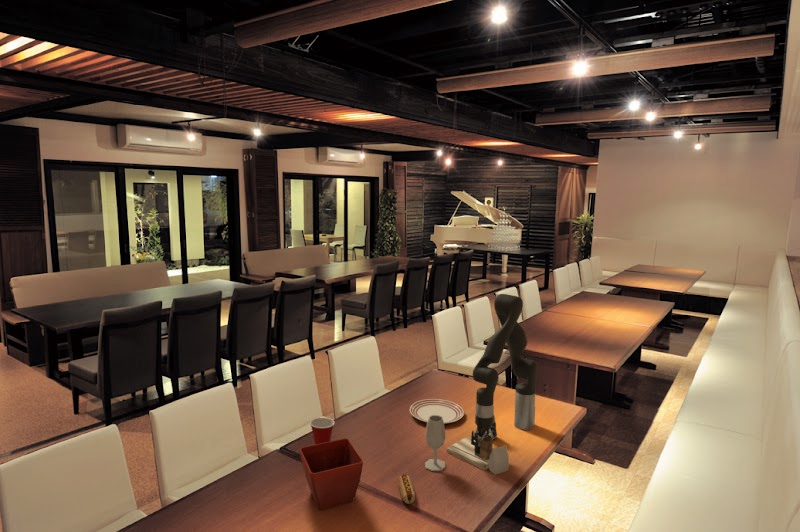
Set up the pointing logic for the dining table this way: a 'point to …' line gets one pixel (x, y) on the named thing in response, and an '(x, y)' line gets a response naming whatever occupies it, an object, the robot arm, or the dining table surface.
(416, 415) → the dinner plate
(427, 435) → the wineglass
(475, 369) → the robot arm
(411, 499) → the food
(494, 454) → the tea bag
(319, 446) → the plant pot
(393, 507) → the dining table surface
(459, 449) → the board
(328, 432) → the plastic cup
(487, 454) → the block
